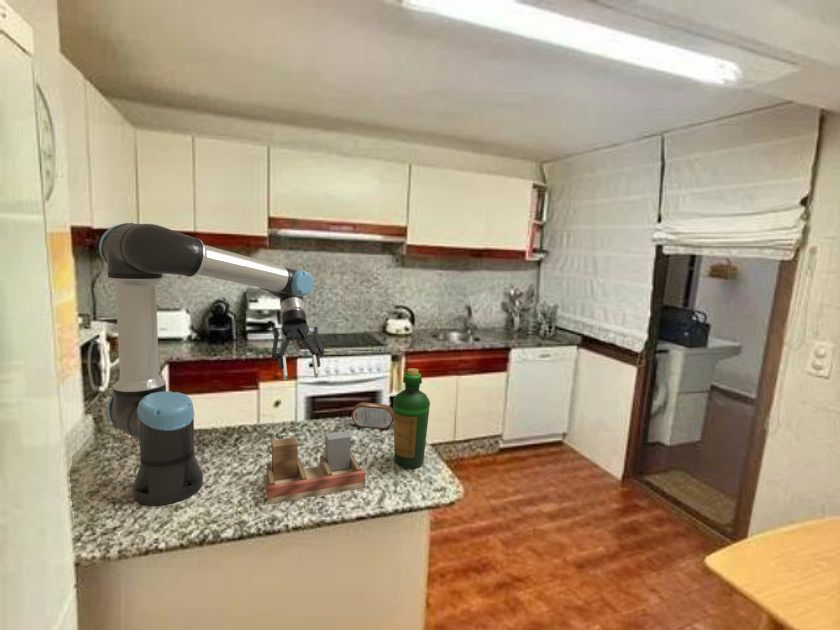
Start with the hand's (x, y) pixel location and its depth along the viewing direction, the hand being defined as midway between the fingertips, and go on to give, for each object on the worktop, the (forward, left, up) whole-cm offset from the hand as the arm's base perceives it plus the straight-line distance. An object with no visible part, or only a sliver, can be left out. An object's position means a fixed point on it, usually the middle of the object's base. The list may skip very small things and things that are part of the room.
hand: (301, 376), depth 134 cm
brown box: (-7, -18, -21) cm, 28 cm away
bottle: (+28, -19, -23) cm, 41 cm away
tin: (+26, +9, -23) cm, 36 cm away
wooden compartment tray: (0, -22, -23) cm, 31 cm away
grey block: (+7, -18, -21) cm, 28 cm away
